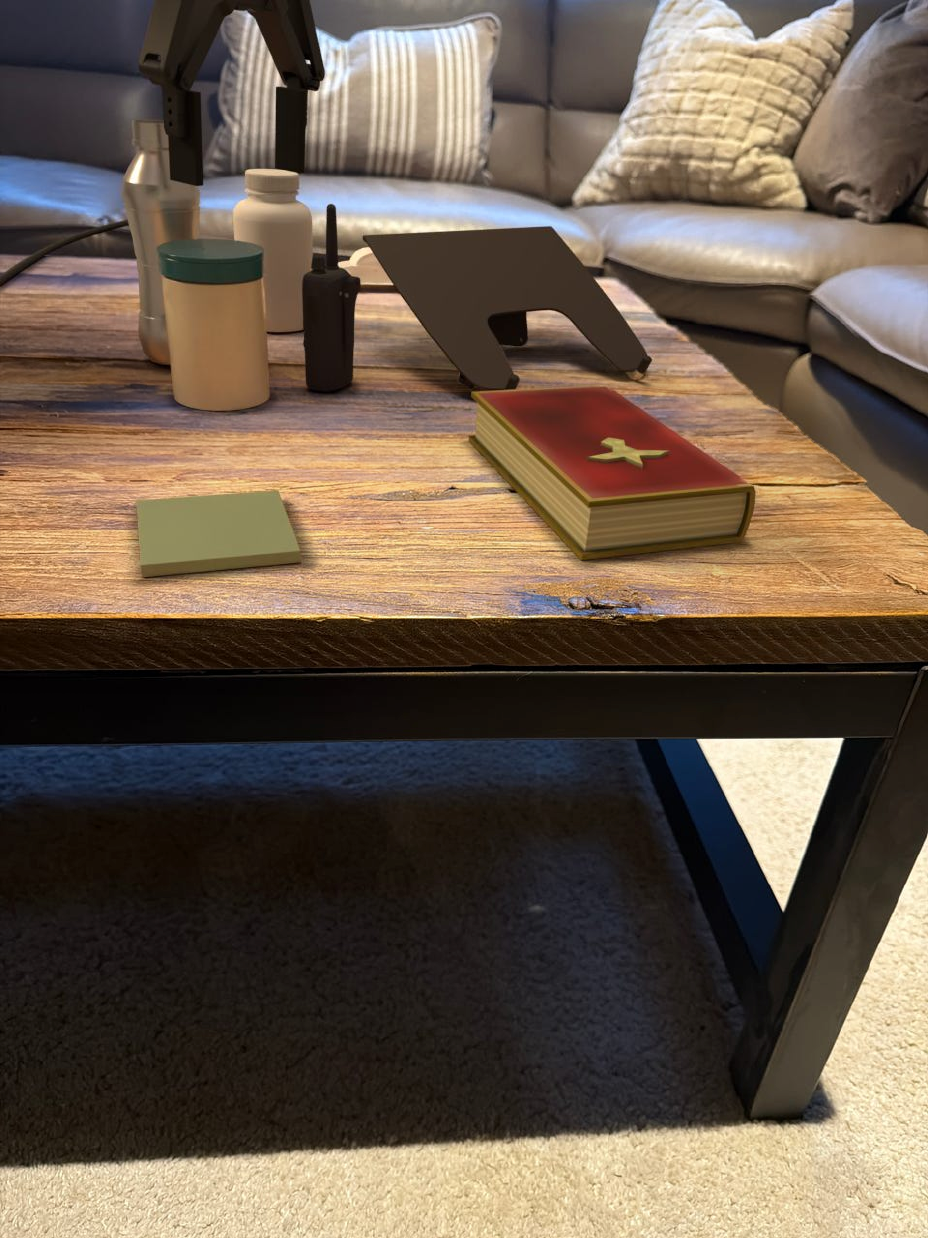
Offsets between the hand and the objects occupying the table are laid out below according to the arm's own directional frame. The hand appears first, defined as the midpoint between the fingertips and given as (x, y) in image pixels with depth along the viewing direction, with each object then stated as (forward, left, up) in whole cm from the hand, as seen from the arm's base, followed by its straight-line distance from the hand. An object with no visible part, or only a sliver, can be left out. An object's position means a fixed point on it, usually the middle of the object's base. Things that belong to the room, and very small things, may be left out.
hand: (241, 176), depth 81 cm
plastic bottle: (-2, -7, -16) cm, 18 cm away
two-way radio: (+7, +6, -16) cm, 19 cm away
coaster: (+35, -7, -16) cm, 39 cm away
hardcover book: (+32, +20, -16) cm, 41 cm away
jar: (+8, -4, -16) cm, 18 cm away
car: (-32, +18, -16) cm, 40 cm away
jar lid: (+8, -4, -5) cm, 10 cm away
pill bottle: (-15, +4, -16) cm, 23 cm away
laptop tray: (+2, +25, -16) cm, 30 cm away
